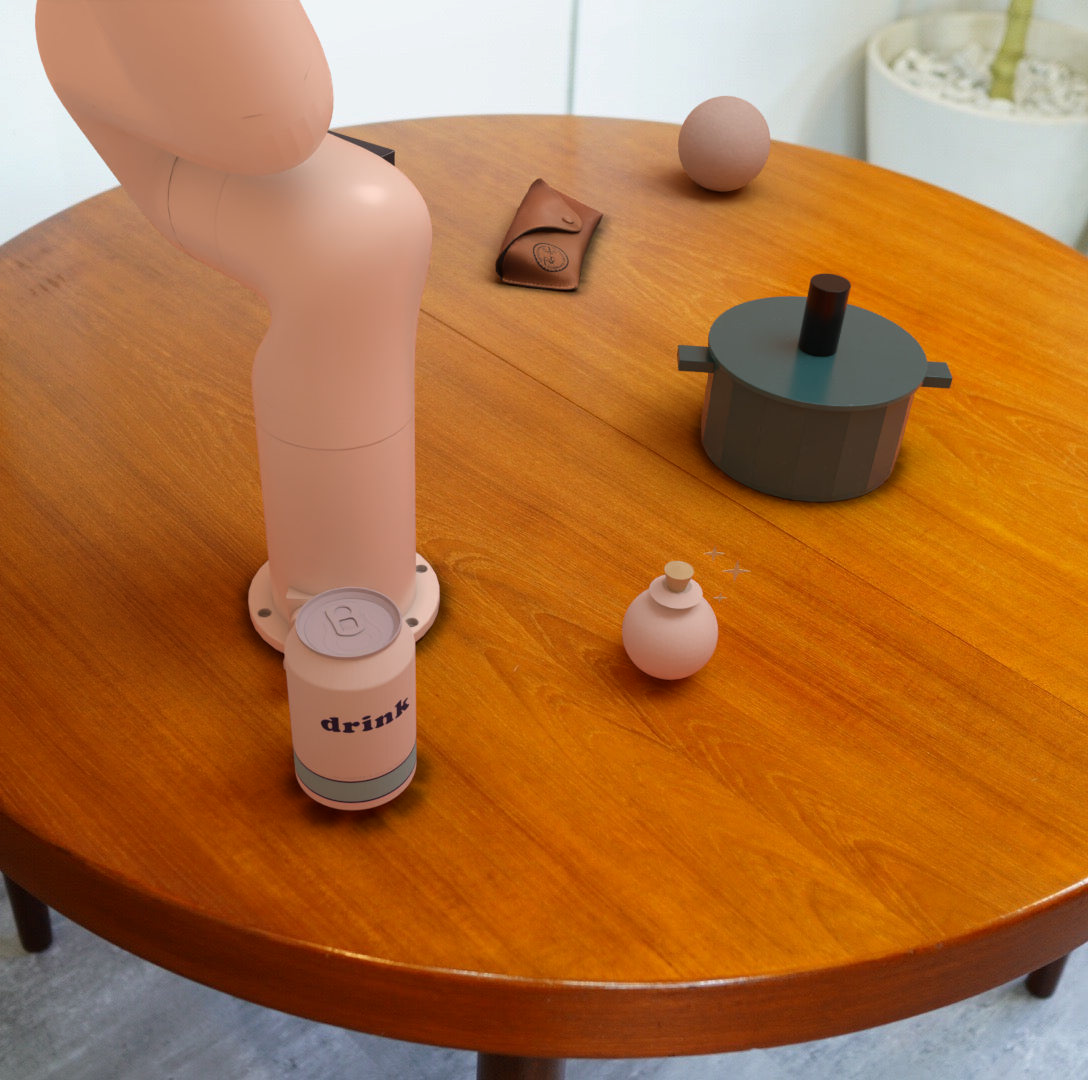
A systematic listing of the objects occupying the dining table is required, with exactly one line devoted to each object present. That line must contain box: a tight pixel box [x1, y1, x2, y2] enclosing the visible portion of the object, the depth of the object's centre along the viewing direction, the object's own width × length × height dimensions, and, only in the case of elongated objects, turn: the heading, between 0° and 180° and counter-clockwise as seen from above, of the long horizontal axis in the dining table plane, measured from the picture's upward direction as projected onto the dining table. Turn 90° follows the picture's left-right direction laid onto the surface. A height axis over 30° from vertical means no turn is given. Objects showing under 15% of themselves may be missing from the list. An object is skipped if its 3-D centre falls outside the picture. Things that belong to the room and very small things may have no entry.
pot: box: [676, 344, 954, 503], centre depth 104 cm, size 16×21×8 cm
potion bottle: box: [621, 544, 751, 681], centre depth 82 cm, size 6×7×10 cm
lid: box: [707, 273, 928, 412], centre depth 100 cm, size 17×17×7 cm
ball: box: [677, 95, 771, 193], centre depth 144 cm, size 10×10×10 cm
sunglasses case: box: [494, 177, 604, 291], centre depth 131 cm, size 18×7×7 cm
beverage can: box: [283, 587, 417, 811], centre depth 73 cm, size 7×7×12 cm
